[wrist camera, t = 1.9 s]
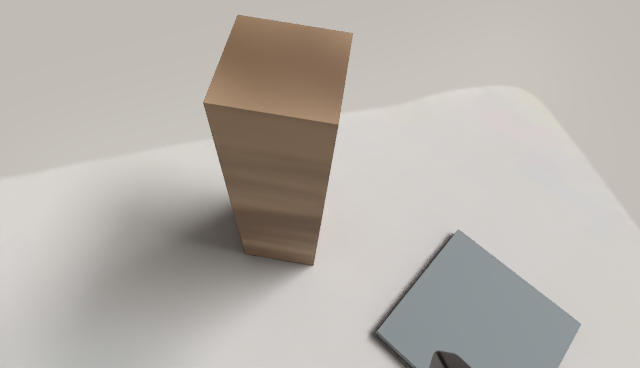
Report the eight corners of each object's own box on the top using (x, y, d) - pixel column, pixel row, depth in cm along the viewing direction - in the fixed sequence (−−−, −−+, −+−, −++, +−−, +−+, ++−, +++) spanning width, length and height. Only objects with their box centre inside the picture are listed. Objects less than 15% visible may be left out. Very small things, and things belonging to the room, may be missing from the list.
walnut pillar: (313, 265, 23) (338, 124, 11) (245, 253, 23) (203, 102, 12) (323, 204, 25) (353, 33, 13) (260, 194, 25) (237, 14, 14)
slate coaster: (505, 454, 19) (511, 455, 18) (374, 332, 21) (377, 330, 21) (574, 326, 22) (581, 324, 22) (454, 233, 24) (458, 229, 24)
